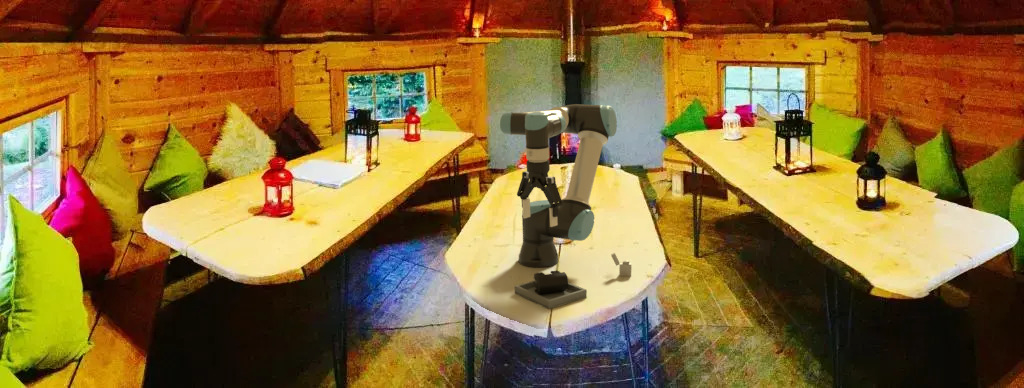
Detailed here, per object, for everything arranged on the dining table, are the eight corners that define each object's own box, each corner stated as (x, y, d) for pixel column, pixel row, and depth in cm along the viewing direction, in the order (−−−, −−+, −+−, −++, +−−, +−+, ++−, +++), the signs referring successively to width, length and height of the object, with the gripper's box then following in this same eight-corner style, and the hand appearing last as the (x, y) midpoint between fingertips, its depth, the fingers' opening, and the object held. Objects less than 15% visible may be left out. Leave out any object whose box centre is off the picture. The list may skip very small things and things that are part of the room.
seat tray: (514, 293, 238) (514, 285, 238) (551, 282, 248) (551, 275, 247) (549, 309, 224) (548, 301, 224) (586, 297, 234) (586, 289, 233)
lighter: (631, 274, 254) (631, 253, 252) (631, 276, 252) (631, 254, 251) (611, 273, 255) (611, 252, 253) (611, 275, 253) (611, 254, 251)
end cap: (540, 298, 231) (540, 278, 230) (532, 291, 238) (532, 272, 236) (568, 294, 234) (568, 274, 233) (560, 287, 241) (560, 268, 239)
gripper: (505, 156, 240) (507, 216, 246) (555, 167, 221) (557, 232, 227) (521, 152, 244) (524, 211, 250) (572, 163, 226) (574, 226, 231)
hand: (539, 221), depth 238 cm, fingers open, 13 cm apart
